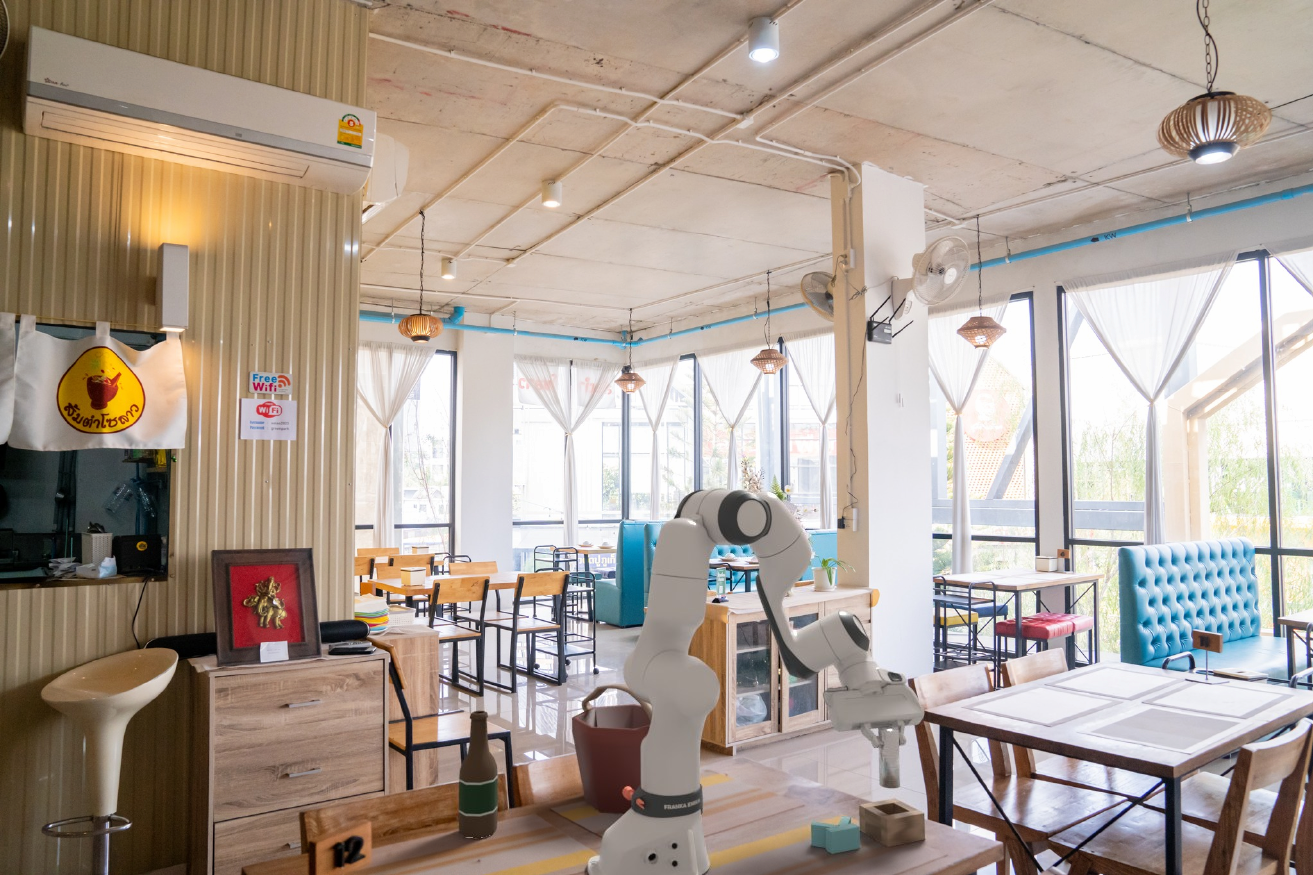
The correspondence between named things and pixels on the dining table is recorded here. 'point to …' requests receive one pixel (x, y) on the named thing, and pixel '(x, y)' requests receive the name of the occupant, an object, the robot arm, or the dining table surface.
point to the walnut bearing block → (892, 822)
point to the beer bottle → (478, 783)
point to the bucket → (610, 749)
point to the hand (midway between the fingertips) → (890, 745)
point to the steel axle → (889, 757)
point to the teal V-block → (836, 836)
